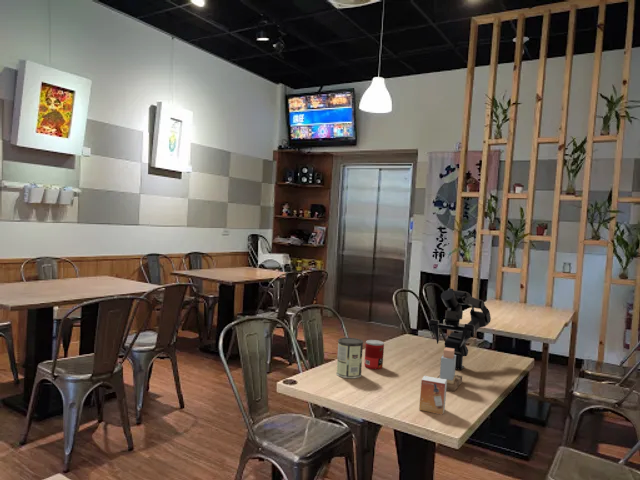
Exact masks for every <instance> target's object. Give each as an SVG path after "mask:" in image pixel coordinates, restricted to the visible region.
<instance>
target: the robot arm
mask: <svg viewBox="0 0 640 480" xmlns="http://www.w3.org/2000/svg"><path fill="white" fill-rule="evenodd" d="M440 298H441V300H442V302H443V304H444V306H445V307H446V308H447V310H445V313H444V314H445V316H444V323H440V320H438V319H430V320H429V321H428V330H429V332H431V333H432V334H433V335H434V336H435V340H436V344H439V340H440V329H441V330H449V331H453V332H451V333H450V334H449V335H447V337H446V339H445V340H444V348H445V347H447V348H453V349H455V351H454V355H456V365H455V370H458V371H462V370H463V368H464V369H465V365H463V362H464V361H463V360H464V359H463V358H464V357H467V356H468V355H469V349H468V347H467V345H466V344H467V343H466V342H467V341H468V340H469V339H471V338H474V337H475V332H477V331H478V329H480V328H485V327H486V326H488V325H489V324H490V323H491V321H492V316H491V314H490V310H489V309H488V307H487V306H486V304H485V301H484V300H482V299H478V298H476V297H472V296H471V294H470V293H469V292H467V291H462V290H456V289H455V290H454V289H453V288H452V287H451V288H450V287H449V288H448V289H447V290H444V291H443V292H441V293H440ZM462 305H465V306H471V309H470V312H469V314H470V315H469V316H470V320H469V322H467V323H464V326H460V321H461V320H463V316H464V315H463V308H462V307H463V306H462ZM475 309H480V311H478V310H475ZM457 332H458V333H457Z"/></svg>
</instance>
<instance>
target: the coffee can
mask: <svg viewBox="0 0 640 480" xmlns="http://www.w3.org/2000/svg"><path fill="white" fill-rule="evenodd" d="M337 342H338V343H337V357H336V358H337V361H336V376H338V377H340V378H344V379H351V380H352V379H358V378H361V377H362V365H363V352H364V351H363V348H364V340H363V339H360V338H355V337H341V338H339V339H337Z"/></svg>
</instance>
